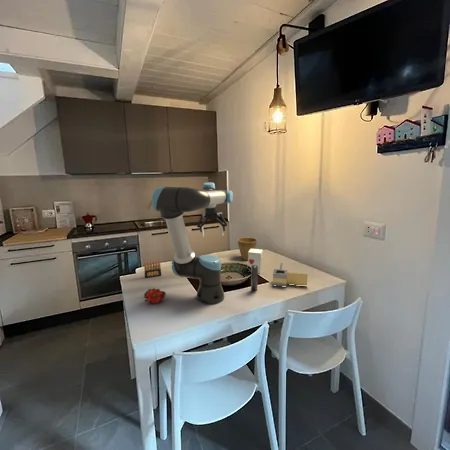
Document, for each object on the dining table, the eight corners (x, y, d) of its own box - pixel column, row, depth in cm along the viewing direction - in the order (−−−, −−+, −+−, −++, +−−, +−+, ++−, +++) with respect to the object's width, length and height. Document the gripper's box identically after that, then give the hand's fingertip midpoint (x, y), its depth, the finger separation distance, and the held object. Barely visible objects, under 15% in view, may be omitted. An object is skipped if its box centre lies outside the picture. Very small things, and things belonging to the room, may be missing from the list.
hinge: (306, 289, 157) (307, 276, 156) (272, 286, 162) (273, 273, 161) (305, 276, 176) (306, 265, 175) (275, 274, 181) (275, 262, 180)
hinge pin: (256, 292, 154) (257, 267, 151) (250, 291, 155) (251, 267, 152) (257, 289, 158) (258, 265, 155) (251, 288, 158) (252, 264, 155)
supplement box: (247, 272, 184) (247, 251, 181) (250, 268, 192) (250, 248, 189) (260, 274, 181) (260, 253, 178) (262, 269, 190) (263, 249, 187)
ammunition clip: (160, 274, 180) (160, 257, 178) (161, 275, 178) (160, 258, 176) (144, 277, 176) (143, 260, 173) (145, 278, 174) (143, 261, 172)
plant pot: (247, 255, 222) (247, 236, 219) (260, 259, 211) (260, 239, 208) (233, 258, 213) (233, 239, 210) (246, 263, 202) (247, 243, 198)
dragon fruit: (142, 306, 141) (165, 305, 146) (144, 303, 134) (168, 302, 139) (142, 290, 145) (165, 289, 149) (144, 286, 138) (167, 286, 142)
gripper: (229, 203, 177) (231, 232, 185) (192, 205, 179) (195, 234, 187) (229, 207, 170) (231, 237, 178) (190, 209, 172) (194, 238, 180)
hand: (213, 236), depth 182 cm, fingers open, 13 cm apart
